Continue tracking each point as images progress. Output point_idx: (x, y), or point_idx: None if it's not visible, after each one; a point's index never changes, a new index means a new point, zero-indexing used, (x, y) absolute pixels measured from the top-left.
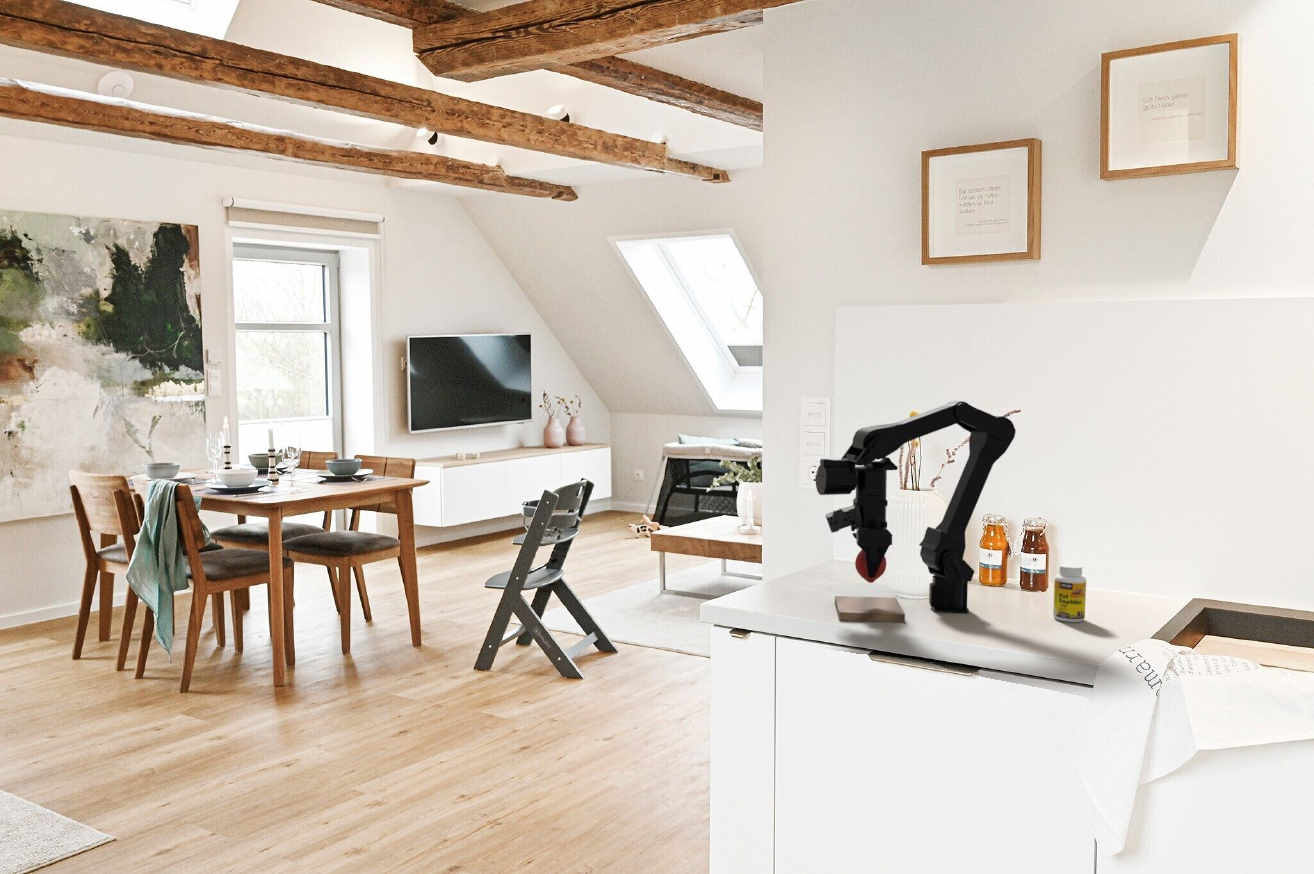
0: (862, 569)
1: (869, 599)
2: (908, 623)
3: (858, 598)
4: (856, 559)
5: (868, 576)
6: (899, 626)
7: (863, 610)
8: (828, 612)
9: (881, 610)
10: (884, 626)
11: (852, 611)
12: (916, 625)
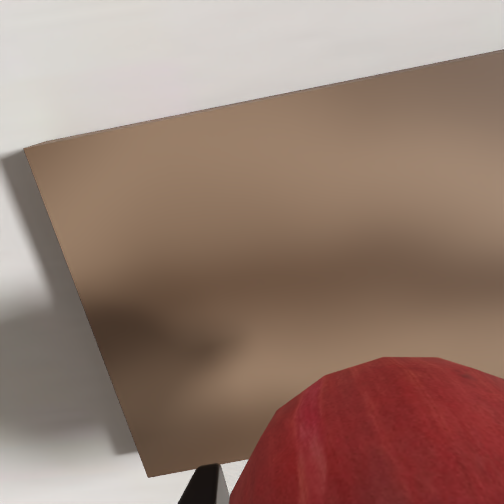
0: (246, 471)
1: (462, 286)
2: (140, 458)
3: (485, 219)
4: (422, 492)
5: (194, 473)
6: (63, 433)
7: (147, 288)
8: (240, 38)
9: (188, 375)
10: (28, 379)
11: (88, 229)
12: (116, 487)
